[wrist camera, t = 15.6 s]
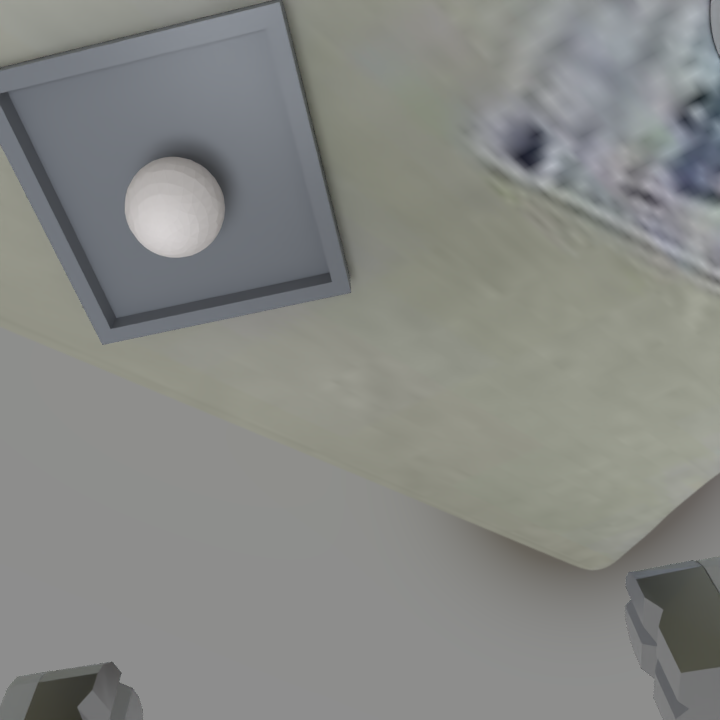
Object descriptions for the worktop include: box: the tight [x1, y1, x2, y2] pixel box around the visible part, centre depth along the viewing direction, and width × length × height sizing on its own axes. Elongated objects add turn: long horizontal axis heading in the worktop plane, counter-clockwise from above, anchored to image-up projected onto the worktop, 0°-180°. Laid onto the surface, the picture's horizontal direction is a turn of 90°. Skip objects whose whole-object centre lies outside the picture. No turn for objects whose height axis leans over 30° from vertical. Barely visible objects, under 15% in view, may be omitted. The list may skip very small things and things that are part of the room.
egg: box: [125, 157, 225, 258], centre depth 44 cm, size 6×6×8 cm
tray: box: [0, 0, 351, 345], centre depth 47 cm, size 20×20×2 cm
